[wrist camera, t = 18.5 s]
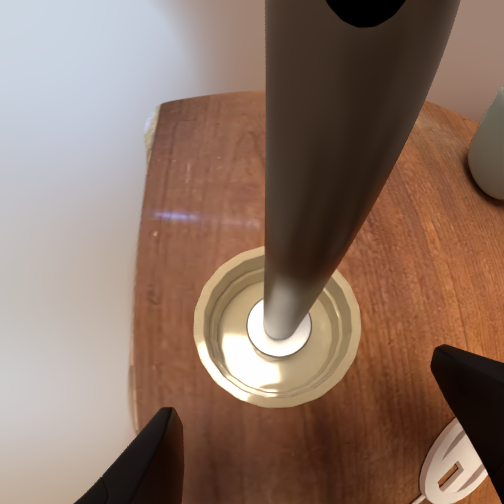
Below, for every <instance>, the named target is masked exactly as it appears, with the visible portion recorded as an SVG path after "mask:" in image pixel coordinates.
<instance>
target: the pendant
mask: <svg viewBox="0 0 504 504" xmlns="http://www.w3.org/2000/svg"><path fill="white" fill-rule="evenodd" d="M459 433H460V434H459ZM458 434H459V435H458ZM457 435H458V436H457ZM454 439H455V440H454ZM454 464H456V465H457V467H458V468H459V469H458V470H457V471H456V472H455V473H454V474H453V475H452V476H451V477H450V478H449V479H448V480H447V481H446V482H445V483H444V484H443V485H442V486H441V487H440V488H439V486H438V485H439V484H438V483H437V482H438V481H439V480H440V479H441V478H442V477H443V476H444V475H445V474H446V473H447V472H448V471H449V469H450V468H451V467H452V466H453V465H454ZM475 471H476V472H475ZM474 472H475V473H474ZM487 475H488V473H487V471H486V469H485V467H484V466H483V464H482V462H481V460H480V458H479V456H478V454H477V452H476V451H475V450H474V448H473V446H472V445H471V442H470V440H469V438H468V436H467V435H466V433H465V431H464V430H463V428H462V426H461V425H460V423H459V421H458V420H457V418H455V419H454V420H453V421H452V422H451V423H450V424H449V425H448V426H447V427H446V428H445V429H444V430H443V431H442V433H441V434H440V435H439V437H438V438H437V439H436V441H435V442H434V444H433V446H432V447H431V449H430V451H429V452H428V454H427V457H426V459H425V462H424V464H423V466H422V470H421V475H420V479H419V480H420V491H421V493H422V495H421V496H420V497H419V498H418V499H416V500H415V501H414V502H413V503H412V504H419V503H420V502H421V501H422V500H423V499H427V500H428V501H430V502H431V503H433V504H452V503H455V502H457V501H459V500H461V499H462V498H464V497H466V496H467V495H468V494H469V493H471V492H472V491H473V490H475V489H476V487H477V486H478V485H479V484H480V483H481V482H482V481H483V480H484V479H485V478H486V476H487Z"/></svg>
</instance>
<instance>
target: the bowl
mask: <svg viewBox="0 0 504 504" xmlns="http://www.w3.org/2000/svg"><path fill="white" fill-rule="evenodd" d="M264 250H265V246H262V247H259V248H256V249H252V250H249V251H246V252H242V253H240V254H238V255H237V256H235V257H234V258H232V259H231V260H229V261H228V262H226V263H225V264H223V265H222V266H221V267H219V269H218V270H217V271H216V272H215V273H214V275H213V276H212V277H211V278H210V279H209V281H208V282H207V283H206V284H205V286H204V288H203V290H202V293H201V295H200V298H199V300H198V303H197V305H196V308H195V314H194V331H193V334H194V340H195V343H196V347H197V351H198V354H199V358H200V360H201V362H202V364H203V365H204V367H205V368H206V370H207V371H208V373H209V374H210V376H211V377H212V378H213V380H214V381H215V382H216V383H217V384H218V385H219V386H220V387H222V388H223V389H224V390H226V391H227V392H228V393H230V394H231V395H232V396H234V397H235V398H237V399H239V400H241V401H244V402H247V403H250V404H253V405H257V406H260V407H263V408H289V407H296V406H299V405H301V404H304V403H307V402H310V401H312V400H315V399H317V398H319V397H321V396H322V395H324V394H325V393H326V392H327V391H329V390H330V389H331V388H332V387H334V386H335V385H336V384H337V383H339V382H340V380H341V379H342V378H343V377H344V375H345V374H346V372H347V370H348V369H349V367H350V366H351V364H352V362H353V361H354V359H355V357H356V353H357V349H358V345H359V341H360V337H361V321H360V309H359V305H358V303H357V301H356V298H355V296H354V294H353V291H352V289H351V286H350V285H349V283H348V282H347V281H346V280H345V278H344V277H343V276H342V275H341V274H340V272H339V271H338V270H337V269H336V270H335V272H334V273H333V275H332V276H331V278H330V280H329V281H328V283H327V284H326V286H325V287H324V289H323V291H322V292H321V294H320V295H319V297H318V298H317V300H316V301H315V303H314V304H313V306H312V307H311V309H310V310H309V313H310V316H311V320H312V332H311V335H310V338H309V340H308V342H307V344H306V345H305V346H304V347H303V348H302V349H301V350H300V351H299V352H297V353H296V354H295V355H293V356H292V357H290V358H288V359H286V360H282V361H271V360H267V359H264V358H263V357H261V356H260V355H258V354H257V353H256V352H255V351H254V349H253V348H252V346H251V344H250V341H249V337H248V334H247V329H246V323H247V318H248V314H249V312H250V310H251V309H252V307H253V306H254V305H255V304H256V303H257V302H258V301H259V300H260V299H262V298H264Z"/></svg>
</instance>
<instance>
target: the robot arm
mask: <svg viewBox="0 0 504 504" xmlns="http://www.w3.org/2000/svg"><path fill="white" fill-rule="evenodd" d="M430 367H431V371H432V373H433V375H434V377H435V379H436V381H437V383H438V385H439V387H440V389H441V391H442V393H443V396H444V397H445V399H446V401H447V403H448V405H449V406H450V408H451V410H452V411H453V413H454V415H455V416H456V418H457V420H458V421H459V423H460V425H461V426H462V428H463V430H464V431H465V433H466V435H467V436H468V438H469V440H470V442H471V444H472V445H473V447H474V449H475V451H476V452H477V454H478V456H479V458H480V460H481V462H482V464H483V466H484V467H485V469H486V471H487V473H488V475H489V477H490V478H491V481H492V483H493V485H494V488H495V490H496V492H497V494H498V496H499V498H500V500H501V502H502V504H504V363H502V362H499V361H495V360H492V359H489V358H486V357H483V356H480V355H477V354H474V353H470V352H467V351H464V350H461V349H458V348H455V347H452V346H449V345H446V344H443V345H440V346H438V347H436V348H435V349H434V352H433V356H432V361H431V365H430ZM102 476H103V477H100V478H99V479H98V481H97V482H96V483H95V484H94V485H93V486H92V487H91V488H90V489H89V490H88V491H87V492H86V493H85V494H84V495H83V496H82V497H81V498H80V499H78V500H77V501H76V502H75V503H74V504H182V491H183V478H184V446H183V425H182V422H181V420H180V418H179V416H178V414H177V412H176V410H175V408H173V407H163V408H161V409H160V410H159V411H158V412H157V413H156V414H155V416H154V417H153V418H152V419H151V420H150V421H149V423H148V424H147V425H146V426H145V427H144V428H143V430H142V431H141V432H140V433H139V434H138V435H137V437H136V438H135V439H134V440H133V441H132V442H131V444H130V445H129V446H128V447H127V448H126V449H125V450H124V452H123V453H122V454H121V455H120V456H119V457H118V458H117V460H116V461H115V462H114V463H113V464H112V465H111V466H110V467H109V468H108V470H107V471H106V472H105V473H104V474H103V475H102Z"/></svg>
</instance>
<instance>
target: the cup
mask: <svg viewBox="0 0 504 504" xmlns="http://www.w3.org/2000/svg"><path fill="white" fill-rule="evenodd" d="M468 164H469V168H470V172H471V174H472V176H473V178H474V180H475V182H476V183H477V185H478V186H479V187H480V188H481V189H482V190H483V191H484V192H485V193H486V194H487V195H489V196H491V197H493V198H495V199H498V200H504V86H502V87H500V88H499V90H498V91H497V93H496V94H495V96H494V98H493V100H492V102H491V104H490V105H489V107H488V109H487V111H486V113H485V114H484V116H483V118H482V120H481V122H480V124H479V125H478V127H477V129H476V132H475V134H474V136H473V138H472V141H471V143H470V146H469V151H468Z"/></svg>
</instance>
